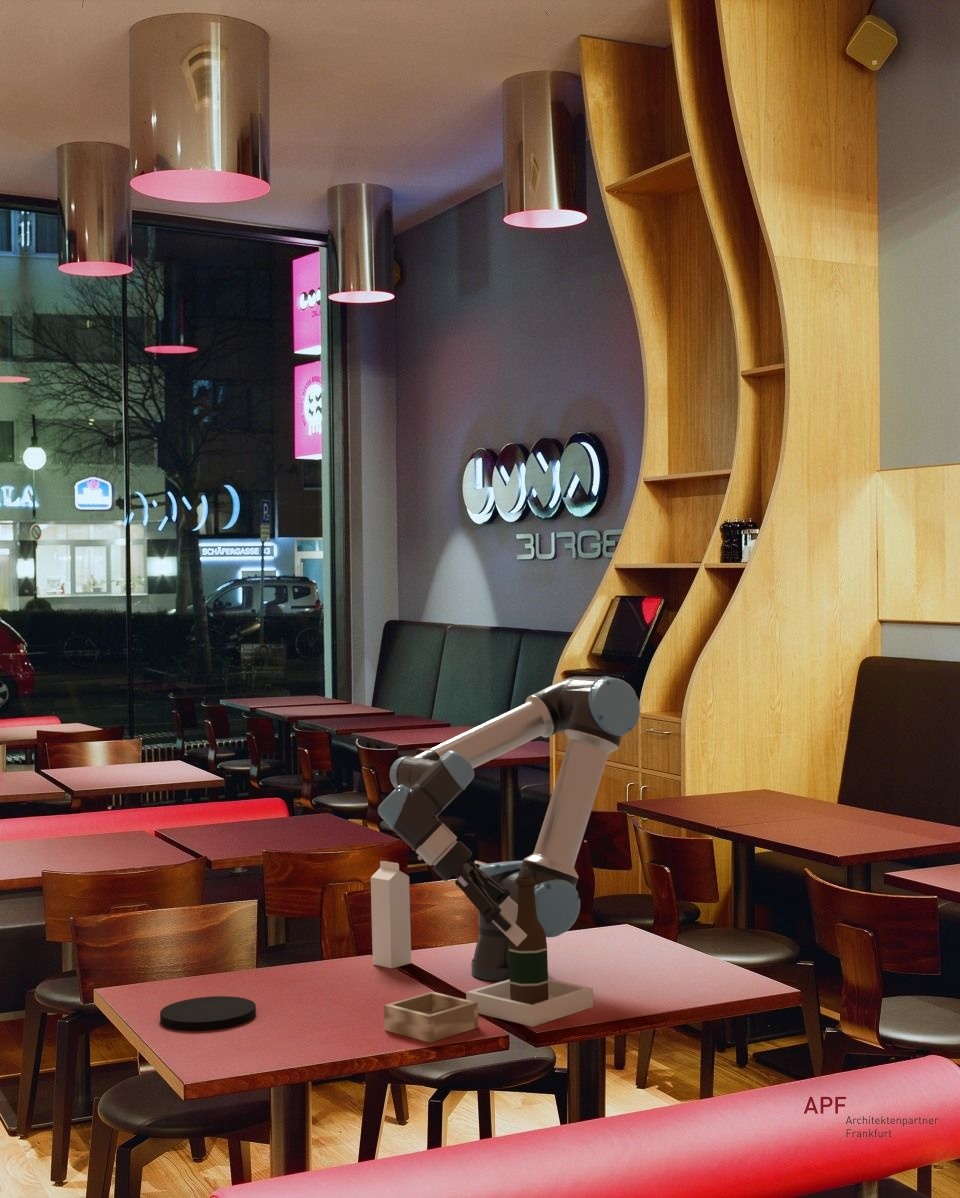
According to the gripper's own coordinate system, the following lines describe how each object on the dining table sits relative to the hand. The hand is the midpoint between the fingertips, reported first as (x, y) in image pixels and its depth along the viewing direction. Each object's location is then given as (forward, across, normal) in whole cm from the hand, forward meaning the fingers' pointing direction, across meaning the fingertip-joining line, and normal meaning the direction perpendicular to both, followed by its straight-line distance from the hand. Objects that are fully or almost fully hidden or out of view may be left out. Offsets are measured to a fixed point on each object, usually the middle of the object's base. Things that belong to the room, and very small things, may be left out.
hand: (525, 933), depth 266 cm
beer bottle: (+10, 0, -9) cm, 14 cm away
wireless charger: (-32, +6, -53) cm, 62 cm away
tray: (+11, 0, -10) cm, 14 cm away
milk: (-12, -35, -33) cm, 50 cm away
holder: (-1, +13, -22) cm, 25 cm away
